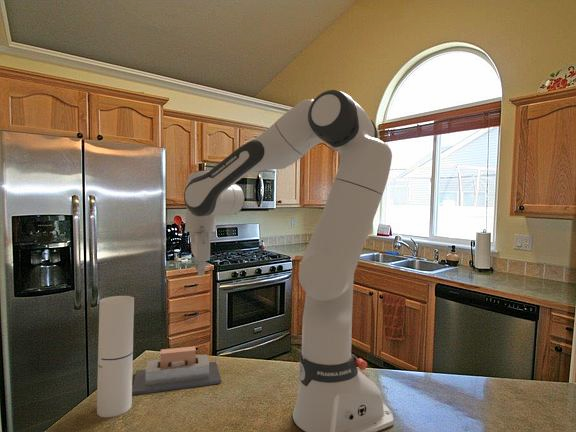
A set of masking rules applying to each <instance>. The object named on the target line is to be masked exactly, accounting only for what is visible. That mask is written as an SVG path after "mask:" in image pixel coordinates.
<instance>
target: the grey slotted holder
mask: <svg viewBox="0 0 576 432" xmlns="http://www.w3.org/2000/svg"><path fill="white" fill-rule="evenodd" d="M220 374H221V373H220V370H219V367H218V364H217V361H213V362H212V361H211V362H210V361H209V357H208V354H200V355H196V360H195V364H189V365H187V360H186V361H177V362H168V367H162V368H160V358H159V359H152V360H149V359H148V360H147V362H146V368H145V369H139V370H136V371H135V376H134V379H133V382H132V396H136V395H137V396H138V395H143V394H151V393H158V392H167V391H174V390H182V389H187V388H188V389H189V388H196V387H203V386H204V387H205V386H211V385H212V386H213V385H218V384H219V385H220V384H222V377H221V375H220Z"/></svg>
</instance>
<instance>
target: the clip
mask: <svg viewBox="0 0 576 432" xmlns="http://www.w3.org/2000/svg"><path fill="white" fill-rule="evenodd" d="M196 351H197V349H196V346H194V345H193V346H185V347H183V346H182V347H175V348H165V349H164V348H163V349H160V358H159V359H160V368H162V367H168V362H177V361H186V360H187V365H189V364H195V360H196V356H197V355H196V354H197V353H196Z"/></svg>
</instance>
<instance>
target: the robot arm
mask: <svg viewBox="0 0 576 432" xmlns="http://www.w3.org/2000/svg"><path fill="white" fill-rule="evenodd" d="M376 126H377V125H376V124H375V122H374V121H373V119H371V118H370V116H369V115H368V114H367V112H366V111H365V109H364V108H363V107H361V105H360V104H359V103H357V102H356V101H355V100H354V99H353V98H352V96H350V95H349V94H347V93H345V92H343V91H340V90H339V89H338V90H337V89H329V90H325V91H323V92H321V93H319V94H318V95H317V96H316V97H315V98H314V99H313V98H312V99H310V98H308V99H304V100H302V101H301V102H298V103H297V104H296V105H294V106H293V107H291V108H290V109H289V110H288V111H286V112H285V113H284V114H283V115H281V116H280V117H279V118H278V119H277V120H276V121H275V122H274V123H273V124H272V125H270V126H269V128H267V129H266V130H264V131H263V132H262V133H261V134H259V135H258V136H256V137H254V138H253V139H251V140H249V141H247V142H246V143H244V144H243V145H241V146H240V147H238V148H237V149H236V150H234V151H233V152H231V153H230V154H229V155H228V156H227V157H225V158H224V159H223V160H222V161H220V162H219V163H217V164H216V165H215V166H214V167H213V168H211V169H210V170H195V171H193V172H191V173H190V174H189V175H188V178H187V181H186V187H185V188H184V192H183V200H184V204H185V207H186V211H185V218H184V219H185V220H184V222H185V223H184V224H185V227H184V232H186V233H188V232H189V238H190V239H189V240H190V241H189V242H190V248H191V249H190V250H191V254H192V255H193V257H194V263H195V266H194V269H195V270H196V271H197V275H198V276H199V277H201V276H205V275H206V273H205V272H206V266H207V261H210V260H211V238H212V233H215V232H217V231H216V230H217V216H233V215H237V214H238V213H240V212H241V210H242V208H243V207H244V204H245V198H246V197H245V193H244V191H243V189H242V187H241V186H240V185H239V184H237V182H239V181H240V180H242V179H243V178H244V177H246V176H247V175H249V174H251V173H255V172H260V171H267V170H268V171H270V170H271V171H272V170H283V169H286V168H288V167H290V166H291V165H293V164H295V163H296V162H298V161H299V160H301V159H302V158H303V157H304V156H305V155H306V154H307V153H308V152H309V151H311V150H312V148H314V147H315V146H317V145H318V144H321V143H326V144H327V146H328V147H329V148H331V149H332V150H333V151H335V152H337V153H339V156H340V160H339V161H340V162H339V165H338V170H337V172H336V174H335V177H334V179H333V182H332V184H331V188H330V190H329V194H328V196H327V199H326V202H325V205H324V207H323V210H322V213H321V215H320V217H319V219H318V221H317V223H316V226H315V228H314V230H313V233H312V235H311V237H310V238H309V239H310V240H309V242H308V245H307V247H306V250H305V252H304V254H303V256H302V259H301V261H300V264H299V267H298V268H299V269H298V279H299V285H301V286H300V287H301V289H302V290H303V291H304V292H305V297H304V300H305V301H304V306H303V313H302V322H301V323H302V325H301V327H302V330H301V333H302V334H301V351H300V352H299V359H298V360H299V363H298V378H299V386H298V392H297V398H296V402H295V405H294V409H293V412H292V418H293V422H294V423H295V424H296V426H297V427H298V428H299V429H301V430H302V431H304V432H379V431H381V430H383V429H386V428H389V427H391V426H393V425H394V423H395V421H394V419H395V418H394V415H393V413H392V411H391V410H390V409H389V407H388V406H387V405H386V404H385V402H383V400H384V399H383V396H382V394H381V391H380V389H379V387H378V386H377V385H376V384H375V383H374V382H373V381H372V380H371V379H369V378H368V377H367V376H366V375H365V374H364V373H362V372H361V371H365V370H366V368H368V362H367V361H366V360H363V359H362V358H361V357H359V358H358V356H356V355H355V354H353V353H352V336H353V335H352V327H353V302H354V279H355V277H354V276H355V272H356V269H357V266H358V264H359V261H360V259H361V256H362V253H363V250H364V247H365V244H366V241H367V238H368V236H369V233H370V231H371V230H370V229H371V227H372V225H373V222H374V219H375V216H376V213H377V211H378V208H379V206H380V203H381V200H382V197H383V196H384V192H385V189H386V185H387V183H388V179H389V175H390V170H391V165H392V159H393V154H392V153H393V152H392V149H391V148H390V146H389V145H388V144H387V143H386V142H384V141H383V140H381V139H379V137H378V136H379V135H378V130H377V127H376Z"/></svg>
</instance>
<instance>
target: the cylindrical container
mask: <svg viewBox="0 0 576 432" xmlns="http://www.w3.org/2000/svg"><path fill="white" fill-rule="evenodd" d="M98 302H99V304H98V305H99V306H98V309H99V311H98V343H97V344H98V349H97V382H96V383H97V384H96V385H97V388H96V389H97V390H96V391H97V392H96V414H97V416H99V417H100V418H114V417H118V416H121V415H123V414H125V413H126V412H128V411H129V410H131V408H132V405H133V404H132V401H133V395H132V387H133V364H134V363H133V362H134V355H133V354H134V328H135V327H134V321H135V297H134V296H131V295H114V296H108V297H107V296H106V297H103V298H101V299H100V300H99V301H98Z"/></svg>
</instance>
